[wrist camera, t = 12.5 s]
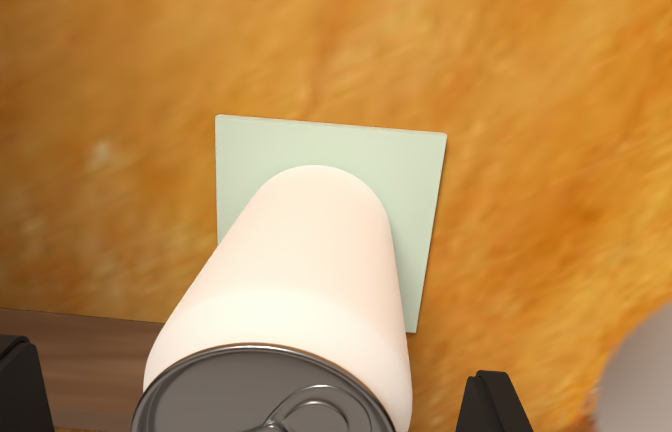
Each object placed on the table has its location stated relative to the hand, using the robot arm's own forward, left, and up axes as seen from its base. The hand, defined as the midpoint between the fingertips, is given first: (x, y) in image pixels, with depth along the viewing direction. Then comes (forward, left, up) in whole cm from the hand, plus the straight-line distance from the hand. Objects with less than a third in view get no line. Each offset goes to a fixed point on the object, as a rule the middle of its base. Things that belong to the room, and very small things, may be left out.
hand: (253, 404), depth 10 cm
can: (+1, 0, -11) cm, 11 cm away
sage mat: (+1, +1, -12) cm, 12 cm away
